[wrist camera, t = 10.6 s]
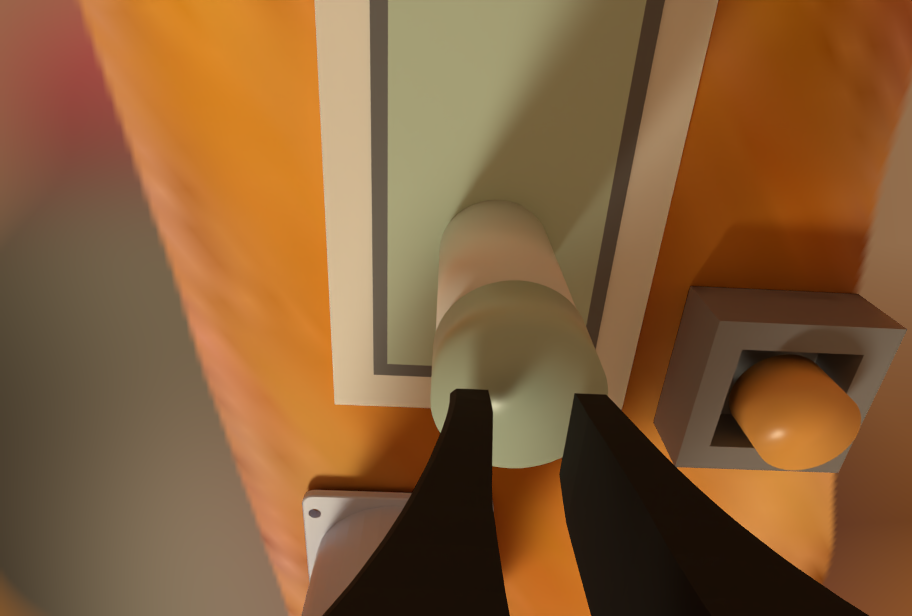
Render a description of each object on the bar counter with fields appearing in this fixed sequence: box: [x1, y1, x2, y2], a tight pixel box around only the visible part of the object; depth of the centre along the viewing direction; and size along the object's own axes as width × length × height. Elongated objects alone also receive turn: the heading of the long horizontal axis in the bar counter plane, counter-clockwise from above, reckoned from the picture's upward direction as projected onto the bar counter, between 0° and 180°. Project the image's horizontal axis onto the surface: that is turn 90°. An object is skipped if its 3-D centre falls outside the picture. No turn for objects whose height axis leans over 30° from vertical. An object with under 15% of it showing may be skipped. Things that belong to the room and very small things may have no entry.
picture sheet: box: [315, 0, 718, 411], centre depth 18 cm, size 18×11×1 cm, turn 177°
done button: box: [729, 355, 861, 470], centre depth 19 cm, size 3×3×2 cm
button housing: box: [654, 286, 907, 473], centre depth 21 cm, size 6×6×2 cm
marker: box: [430, 200, 608, 468], centre depth 16 cm, size 4×4×8 cm
